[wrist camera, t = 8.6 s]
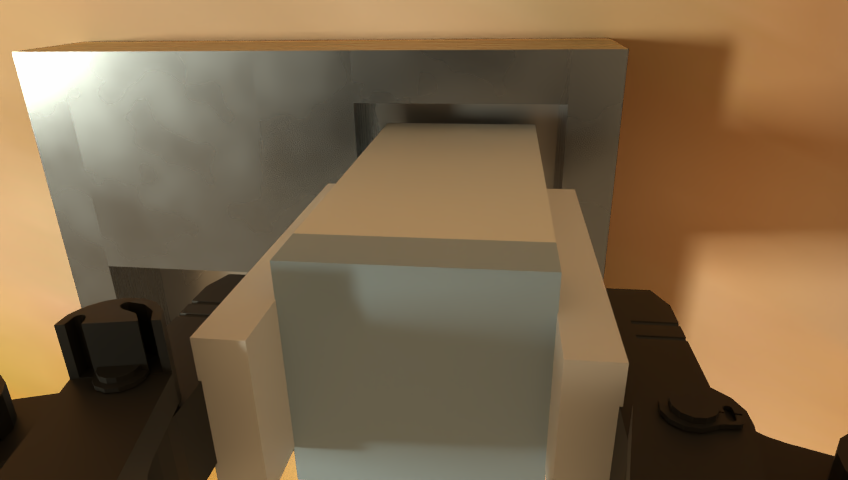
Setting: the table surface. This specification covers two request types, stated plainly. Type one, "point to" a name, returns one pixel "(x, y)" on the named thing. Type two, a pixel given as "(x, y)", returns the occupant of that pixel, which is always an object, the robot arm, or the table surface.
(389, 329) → the plug
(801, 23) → the table surface
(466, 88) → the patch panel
